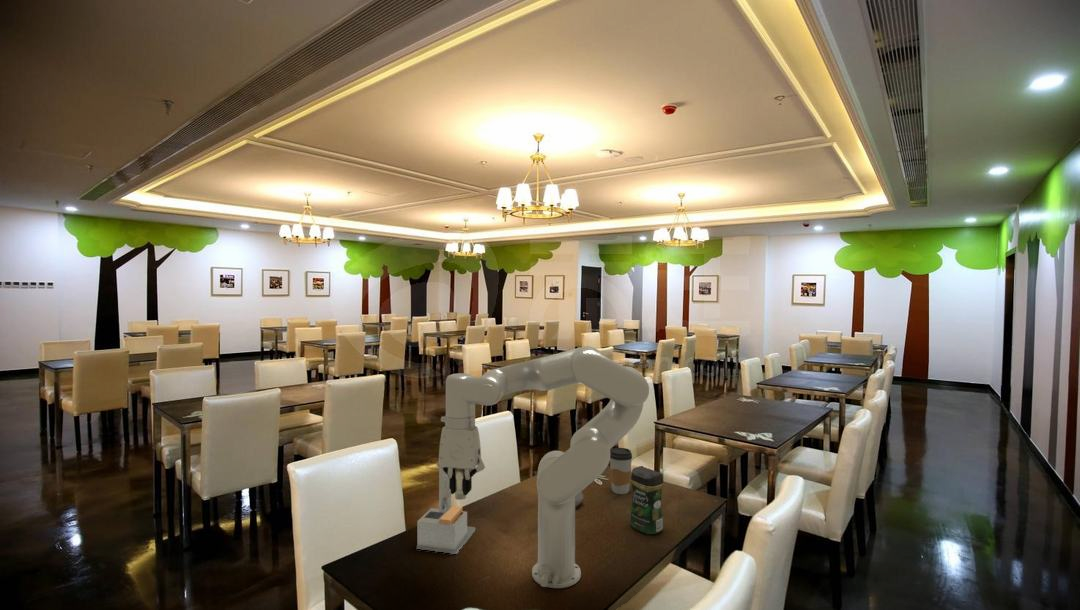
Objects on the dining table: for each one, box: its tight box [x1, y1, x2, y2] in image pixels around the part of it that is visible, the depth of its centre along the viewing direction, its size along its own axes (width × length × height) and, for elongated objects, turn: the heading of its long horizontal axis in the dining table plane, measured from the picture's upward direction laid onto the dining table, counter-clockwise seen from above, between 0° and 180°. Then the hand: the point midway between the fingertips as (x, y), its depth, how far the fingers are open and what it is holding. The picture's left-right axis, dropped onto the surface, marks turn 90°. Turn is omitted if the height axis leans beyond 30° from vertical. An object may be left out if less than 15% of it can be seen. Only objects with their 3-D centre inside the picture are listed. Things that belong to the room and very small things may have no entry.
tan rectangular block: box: [440, 505, 464, 525], centre depth 147 cm, size 9×3×8 cm, turn 167°
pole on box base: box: [416, 467, 476, 555], centre depth 150 cm, size 15×12×20 cm
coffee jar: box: [630, 465, 664, 535], centre depth 157 cm, size 10×8×19 cm
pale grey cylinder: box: [454, 468, 467, 501], centre depth 132 cm, size 3×3×8 cm
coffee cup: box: [609, 447, 633, 495], centre depth 187 cm, size 8×8×15 cm
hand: (460, 492), depth 132 cm, fingers closed on pale grey cylinder, 2 cm apart
